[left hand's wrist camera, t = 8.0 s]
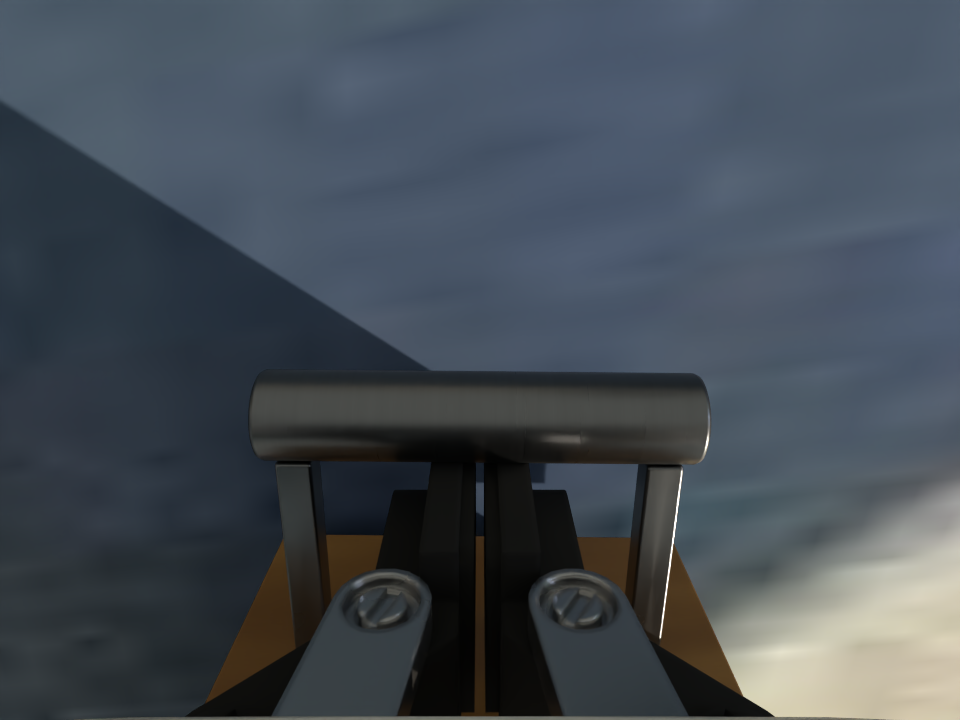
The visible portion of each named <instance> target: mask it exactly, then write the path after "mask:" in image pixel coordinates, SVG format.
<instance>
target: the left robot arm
mask: <svg viewBox="0 0 960 720" xmlns="http://www.w3.org/2000/svg"><path fill="white" fill-rule="evenodd" d="M475 611H476V463H475V462H431V469H430V476H429V483H428V490H394V492H393V495H392V500H391V504H390V509H389V513H388V517H387V522H386V526H385V530H384V535H383V539H382V543H381V548H380V552H379V556H378V561H377V565H376V569H375V570H372V571H368V572H365V573H362V574H360V575H358V576H355V577H353V578H352V579H350V580H349V581H347V582H346V583H345V584H343V585H342V586H341V587H340V589H339V590H338V591H337V593H336V594H335V595H334V597H333V599H332V601H331V603H330V605H329V607H328V608H327V610H326V612H325V614H324V616H323V618H322V620H321V622H320V624H319V626H318V628H317V630H316V631H315V633H314V635H313V637H312V639H311V640H309V641H308V642H306V643H304V644H303V645H301V646H299V647H298V648H296V649H294V650H293V651H291V652H289V653H288V654H286V655H284V656H283V657H281V658H280V659H278V660H276V661H275V662H273V663H271V664H270V665H268V666H266V667H265V668H263V669H261V670H260V671H258V672H256V673H255V674H253V675H251V676H250V677H248V678H247V679H245V680H243V681H242V682H240V683H238V684H237V685H235V686H233V687H232V688H230V689H228V690H227V691H225V692H223V693H222V694H220V695H218V696H217V697H215V698H213V699H212V700H210V701H209V702H207V703H205V704H204V705H202V706H200V707H199V708H197V709H195V710H194V711H192V712H191V713H189V714H188V715H187V716H185V717H129V718H102V719H76V720H884V719H858V718H832V717H774V716H773V715H772V714H771V713H769V712H768V711H766V710H765V709H763V708H761V707H760V706H758V705H756V704H755V703H753V702H751V701H750V700H748V699H746V698H745V697H743V696H741V695H740V694H738V693H736V692H735V691H733V690H732V689H730V688H728V687H727V686H725V685H723V684H722V683H720V682H718V681H717V680H715V679H713V678H712V677H710V676H708V675H707V674H705V673H703V672H702V671H700V670H698V669H697V668H695V667H694V666H692V665H690V664H689V663H687V662H685V661H684V660H682V659H680V658H679V657H677V656H675V655H674V654H672V653H670V652H669V651H667V650H665V649H664V648H662V647H661V646H659V645H657V644H656V643H654V642H652V641H651V640H649V639H648V637H647V635H646V633H645V631H644V630H643V628H642V626H641V624H640V622H639V620H638V618H637V616H636V614H635V612H634V610H633V608H632V607H631V605H630V603H629V601H628V599H627V597H626V595H625V594H624V593H623V591H622V590H621V589H620V587H619V586H618V585H617V584H615V583H614V582H613V581H611V580H610V579H608V578H607V577H605V576H602V575H600V574H598V573H595V572H592V571H588V570H584V566H583V561H582V557H581V552H580V548H579V544H578V539H577V535H576V531H575V526H574V522H573V518H572V513H571V509H570V505H569V500H568V496H567V493H566V491H565V490H532V484H531V477H530V470H529V463H484V624H485V713H499V716H461V712H475Z"/></svg>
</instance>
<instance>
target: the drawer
mask: <svg viewBox="0 0 960 720" xmlns="http://www.w3.org/2000/svg"><path fill="white" fill-rule="evenodd" d="M248 428H249V436H250V442H251V446H252V449H253V451H254V453H255V455H256V456H257V457H258V458H260V459H262V460H265V461H277V462H276V464H275V470H276V479H277V488H278V497H279V506H280V515H281V524H282V533H283V540H282V542H281V544H280V546H279V549H278V551H277V553H276V555H275V557H274V559H273V561H272V563H271V565H270V568H269V570H268V572H267V574H266V576H265V578H264V580H263V582H262V584H261V586H260V589H259V591H258V593H257V595H256V597H255V599H254V601H253V603H252V605H251V607H250V610H249V612H248V614H247V616H246V618H245V620H244V622H243V624H242V626H241V629H240V631H239V633H238V635H237V637H236V639H235V641H234V643H233V645H232V647H231V650H230V652H229V654H228V656H227V658H226V660H225V662H224V664H223V666H222V668H221V671H220V673H219V675H218V677H217V679H216V681H215V683H214V685H213V687H212V690H211V692H210V694H209V696H208V698H207V700H206V702H205V703H207V702H209V701H210V700H212V699H213V698H215V697H217V696H218V695H220V694H222V693H223V692H225V691H227V690H228V689H230V688H232V687H233V686H235V685H237V684H238V683H240V682H242V681H243V680H245V679H247V678H248V677H250V676H251V675H253V674H255V673H256V672H258V671H260V670H261V669H263V668H265V667H266V666H268V665H270V664H271V663H273V662H275V661H276V660H278V659H280V658H281V657H283V656H284V655H286V654H288V653H289V652H291V651H293V650H294V649H296V648H298V647H299V646H301V645H303V644H304V643H306V642H308V641H309V640H311V639H312V637H313V635H314V633H315V631H316V630H317V628H318V626H319V624H320V622H321V620H322V618H323V616H324V614H325V612H326V610H327V608H328V607H329V605H330V603H331V601H332V599H333V597H334V595H335V594H336V593H337V591H338V590H339V589H340V587H341V586H342V585H343V584H345V583H346V582H347V581H349V580H350V579H352V578H353V577H355V576H358V575H360V574H362V573H365V572H368V571H372V570H375V569H376V565H377V561H378V556H379V552H380V548H381V543H382V539H383V535H326V527H325V516H324V504H323V492H322V480H321V469H320V461H367V462H475V463H582V464H638V473H637V483H636V492H635V502H634V511H633V521H632V530H631V538H613V537H577V539H578V544H579V548H580V552H581V557H582V561H583V566H584V570H588V571H592V572H595V573H598V574H600V575H602V576H605V577H607V578H608V579H610V580H611V581H613V582H614V583H615V584H617V585H618V586H619V587H620V589H621V590H622V591H623V593H624V594H625V595H626V597H627V599H628V601H629V603H630V605H631V607H632V608H633V610H634V612H635V614H636V616H637V618H638V620H639V622H640V624H641V626H642V628H643V630H644V631H645V633H646V635H647V637H648V639H649V640H651V641H652V642H654V643H656V644H657V645H659V646H661V647H662V648H664V649H665V650H667V651H669V652H670V653H672V654H674V655H675V656H677V657H679V658H680V659H682V660H684V661H685V662H687V663H689V664H690V665H692V666H694V667H695V668H697V669H698V670H700V671H702V672H703V673H705V674H707V675H708V676H710V677H712V678H713V679H715V680H717V681H718V682H720V683H722V684H723V685H725V686H727V687H728V688H730V689H732V690H733V691H735V692H736V693H738V694H740V695H741V696H743V695H742V692H741V690H740V688H739V686H738V684H737V681H736V679H735V677H734V675H733V673H732V670H731V668H730V666H729V664H728V662H727V659H726V657H725V655H724V653H723V651H722V648H721V646H720V644H719V642H718V640H717V637H716V635H715V633H714V631H713V629H712V627H711V624H710V622H709V620H708V618H707V616H706V613H705V611H704V609H703V607H702V605H701V602H700V600H699V598H698V596H697V594H696V591H695V589H694V587H693V585H692V583H691V580H690V578H689V576H688V574H687V572H686V569H685V567H684V565H683V563H682V561H681V558H680V556H679V554H678V552H677V550H676V547H675V545H674V536H675V529H676V521H677V514H678V506H679V499H680V491H681V484H682V476H683V467H682V465H681V464H689V465H693V464H697V463H699V462H701V461H702V460H703V458H704V457H705V455H706V452H707V449H708V445H709V440H710V433H711V409H710V402H709V397H708V393H707V390H706V387H705V384H704V382H703V380H702V379H701V378H700V377H699V376H697V375H695V374H693V373H612V372H506V371H400V370H294V369H267V370H265V371H262V372H261V373H260V374H259V375H258V376H257V378H256V380H255V382H254V385H253V388H252V392H251V396H250V401H249V410H248ZM461 716H499V713H485V624H484V536H476V611H475V712H461Z"/></svg>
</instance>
